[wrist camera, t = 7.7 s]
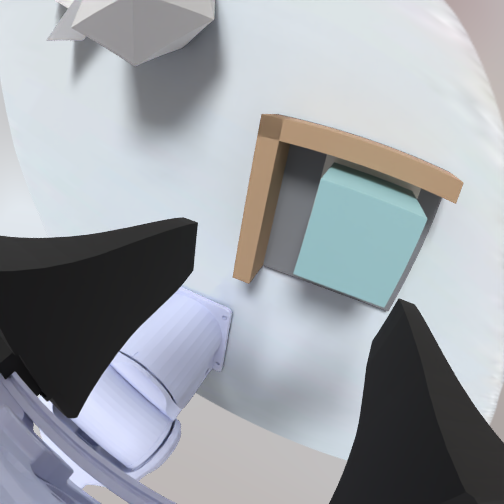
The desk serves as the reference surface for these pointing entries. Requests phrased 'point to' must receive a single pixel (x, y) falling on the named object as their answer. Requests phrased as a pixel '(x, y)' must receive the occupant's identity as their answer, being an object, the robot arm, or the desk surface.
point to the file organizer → (67, 23)
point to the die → (143, 25)
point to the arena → (306, 186)
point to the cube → (360, 234)
